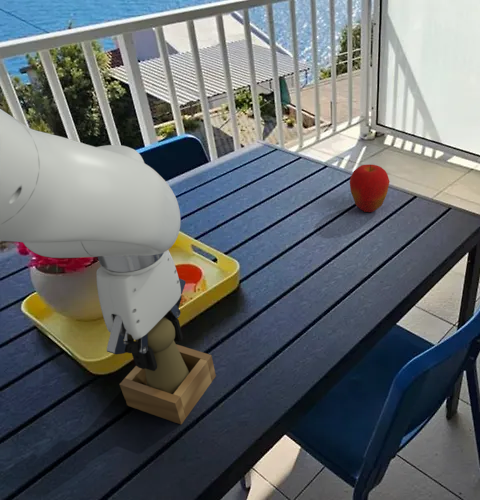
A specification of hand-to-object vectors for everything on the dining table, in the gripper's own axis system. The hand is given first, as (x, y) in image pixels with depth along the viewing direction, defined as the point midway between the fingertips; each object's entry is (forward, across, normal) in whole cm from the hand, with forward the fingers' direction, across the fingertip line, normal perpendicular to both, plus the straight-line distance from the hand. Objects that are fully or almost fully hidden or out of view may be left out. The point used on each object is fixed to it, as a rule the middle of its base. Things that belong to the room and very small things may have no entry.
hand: (160, 351), depth 71 cm
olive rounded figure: (+6, 0, 0) cm, 6 cm away
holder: (+9, -1, 0) cm, 9 cm away
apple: (+9, -63, +12) cm, 64 cm away
